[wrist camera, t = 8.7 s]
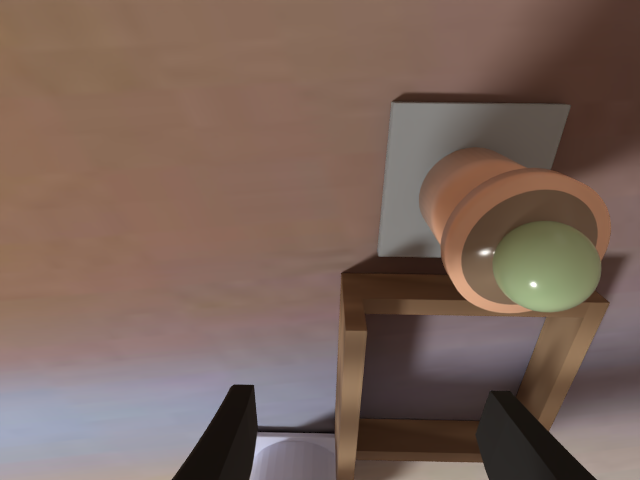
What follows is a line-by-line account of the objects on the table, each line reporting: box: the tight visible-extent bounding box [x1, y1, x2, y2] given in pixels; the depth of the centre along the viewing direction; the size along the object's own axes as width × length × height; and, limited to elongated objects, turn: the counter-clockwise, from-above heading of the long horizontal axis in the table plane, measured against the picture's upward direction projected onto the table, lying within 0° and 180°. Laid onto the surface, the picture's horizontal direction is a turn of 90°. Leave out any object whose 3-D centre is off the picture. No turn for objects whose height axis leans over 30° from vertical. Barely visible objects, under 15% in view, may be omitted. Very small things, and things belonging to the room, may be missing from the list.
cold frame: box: [335, 273, 610, 480], centre depth 22 cm, size 14×14×5 cm
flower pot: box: [419, 147, 611, 313], centre depth 14 cm, size 6×6×8 cm
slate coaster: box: [377, 102, 571, 257], centre depth 18 cm, size 8×8×1 cm
